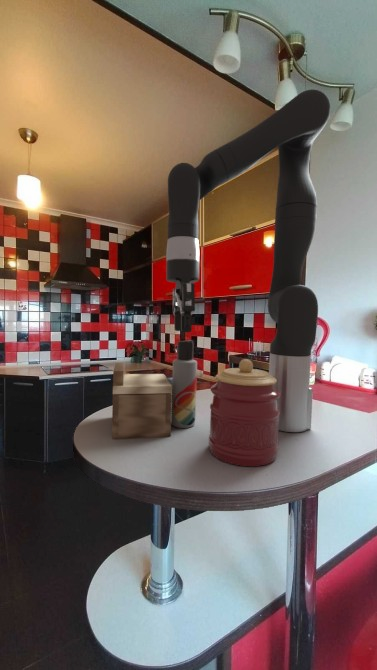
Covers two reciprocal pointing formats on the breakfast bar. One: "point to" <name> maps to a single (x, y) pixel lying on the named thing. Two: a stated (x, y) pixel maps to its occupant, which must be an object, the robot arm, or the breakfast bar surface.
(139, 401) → the wooden box
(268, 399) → the canister
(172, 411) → the lotion bottle
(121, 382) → the lid
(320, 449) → the breakfast bar surface
